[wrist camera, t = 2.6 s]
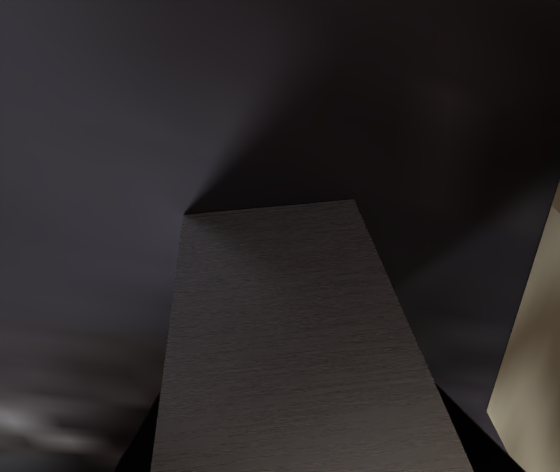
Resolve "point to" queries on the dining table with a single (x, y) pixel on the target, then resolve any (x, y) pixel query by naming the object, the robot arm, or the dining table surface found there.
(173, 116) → the dining table surface
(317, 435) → the steel peg
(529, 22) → the dining table surface
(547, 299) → the hole block
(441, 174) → the dining table surface
